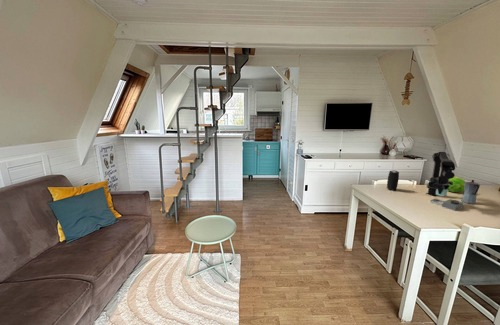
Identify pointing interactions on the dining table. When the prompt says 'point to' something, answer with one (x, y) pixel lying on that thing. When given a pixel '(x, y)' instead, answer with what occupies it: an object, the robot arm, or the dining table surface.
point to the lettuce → (456, 184)
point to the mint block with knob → (442, 192)
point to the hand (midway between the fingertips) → (441, 193)
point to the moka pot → (470, 192)
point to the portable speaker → (392, 180)
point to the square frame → (448, 203)
